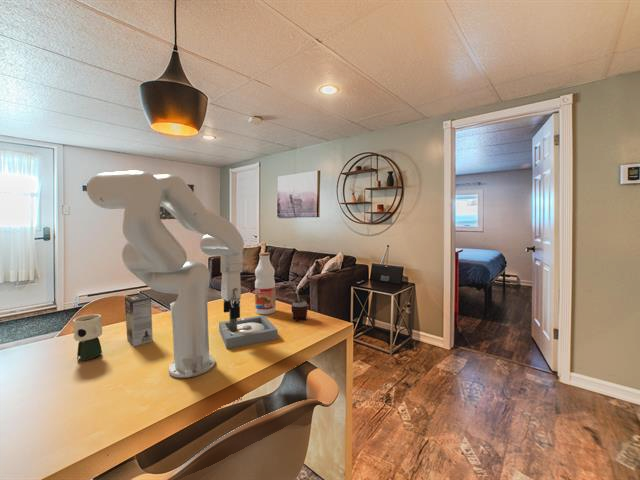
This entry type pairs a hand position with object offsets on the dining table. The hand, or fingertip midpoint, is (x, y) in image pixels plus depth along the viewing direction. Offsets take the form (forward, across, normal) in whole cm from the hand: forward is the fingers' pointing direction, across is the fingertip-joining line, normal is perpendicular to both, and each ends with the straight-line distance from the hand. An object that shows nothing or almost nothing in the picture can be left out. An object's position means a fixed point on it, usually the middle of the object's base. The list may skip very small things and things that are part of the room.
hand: (231, 314), depth 107 cm
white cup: (+9, -24, -14) cm, 29 cm away
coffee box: (+10, -17, -28) cm, 35 cm away
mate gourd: (+8, -6, +31) cm, 32 cm away
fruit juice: (+7, -24, +22) cm, 33 cm away
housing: (+9, -1, +6) cm, 11 cm away
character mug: (+10, -10, -42) cm, 45 cm away
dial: (+7, -1, +6) cm, 10 cm away
